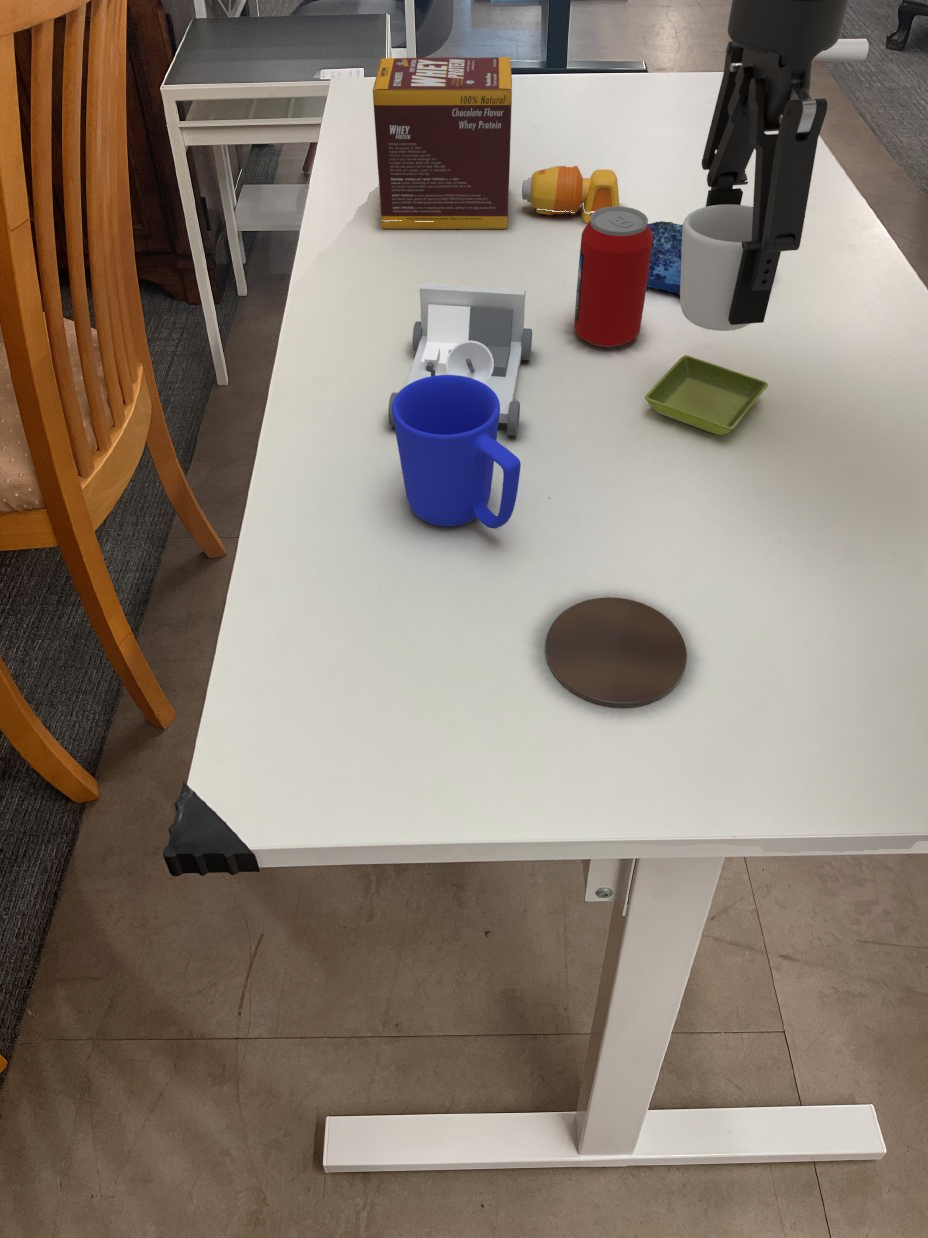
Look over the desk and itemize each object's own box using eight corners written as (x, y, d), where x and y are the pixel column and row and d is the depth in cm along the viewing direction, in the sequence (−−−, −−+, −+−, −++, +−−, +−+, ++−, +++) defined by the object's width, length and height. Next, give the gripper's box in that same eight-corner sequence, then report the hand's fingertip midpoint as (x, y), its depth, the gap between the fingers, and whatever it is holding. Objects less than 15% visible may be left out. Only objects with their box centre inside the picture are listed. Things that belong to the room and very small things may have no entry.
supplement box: (509, 229, 112) (512, 87, 101) (381, 229, 113) (370, 87, 101) (508, 192, 119) (511, 55, 108) (387, 192, 120) (378, 55, 108)
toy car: (516, 362, 75) (374, 352, 76) (513, 460, 82) (383, 450, 83) (536, 256, 87) (413, 249, 88) (531, 349, 94) (418, 342, 95)
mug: (471, 579, 72) (471, 477, 65) (380, 501, 79) (370, 400, 71) (549, 532, 76) (557, 431, 68) (455, 461, 82) (453, 361, 75)
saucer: (765, 401, 88) (770, 382, 86) (727, 448, 83) (732, 429, 82) (680, 372, 91) (684, 353, 90) (639, 416, 86) (642, 397, 85)
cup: (704, 276, 85) (718, 185, 79) (790, 296, 82) (811, 202, 76) (655, 326, 79) (667, 230, 73) (746, 349, 76) (766, 251, 70)
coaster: (703, 699, 64) (704, 695, 64) (560, 715, 63) (560, 710, 63) (664, 595, 71) (665, 590, 71) (534, 608, 70) (534, 603, 70)
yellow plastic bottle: (520, 222, 114) (620, 224, 113) (521, 176, 110) (625, 177, 109) (523, 203, 117) (619, 204, 116) (524, 157, 113) (624, 158, 112)
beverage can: (605, 310, 99) (618, 196, 90) (653, 336, 96) (670, 220, 87) (559, 332, 96) (567, 216, 88) (606, 359, 93) (620, 242, 84)
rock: (665, 224, 112) (667, 208, 111) (786, 276, 104) (791, 259, 102) (583, 268, 106) (584, 252, 104) (705, 327, 97) (709, 310, 96)
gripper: (693, -64, 69) (651, 237, 85) (799, 25, 54) (723, 365, 71) (792, -68, 69) (731, 232, 86) (922, 19, 55) (818, 358, 72)
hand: (727, 292), depth 79 cm, fingers closed on cup, 8 cm apart
